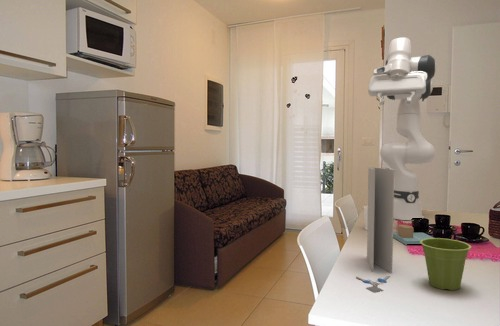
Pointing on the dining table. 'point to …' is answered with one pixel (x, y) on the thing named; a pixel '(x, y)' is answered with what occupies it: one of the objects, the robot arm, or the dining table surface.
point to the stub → (406, 235)
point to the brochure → (380, 217)
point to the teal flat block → (421, 236)
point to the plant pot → (445, 261)
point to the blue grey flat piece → (374, 288)
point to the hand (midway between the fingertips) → (395, 103)
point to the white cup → (366, 216)
